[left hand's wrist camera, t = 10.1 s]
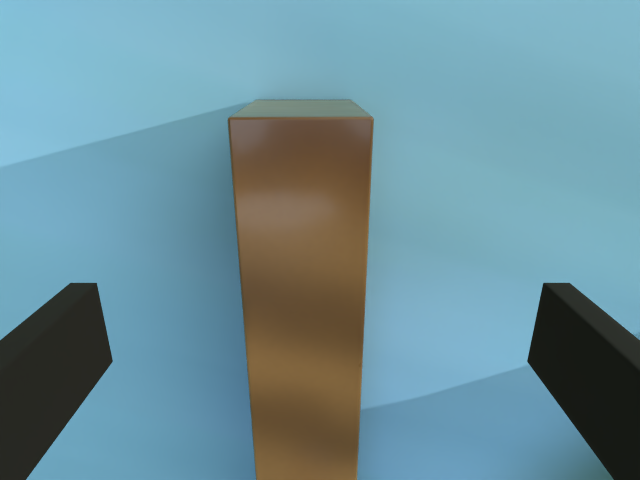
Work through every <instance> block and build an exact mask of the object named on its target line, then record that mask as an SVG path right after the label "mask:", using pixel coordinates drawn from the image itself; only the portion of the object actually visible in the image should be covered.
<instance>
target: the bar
mask: <svg viewBox="0 0 640 480" xmlns="http://www.w3.org/2000/svg"><path fill="white" fill-rule="evenodd" d="M373 123H374V119H373V117H372V116H371V115H369V114H368V113H367V112H366V111H364V110H363V109H362V108H361V107H359V106H358V105H357V104H356V103H355V102H353V101H352V100H255V101H253V102H252V103H250V104H249V105H247V106H246V107H244V108H242V109H241V110H239V111H238V112H236V113H235V114H233V115H232V116H230V117H229V118H228V130H229V143H230V155H231V168H232V181H233V193H234V206H235V218H236V231H237V244H238V256H239V269H240V282H241V294H242V307H243V319H244V332H245V345H246V357H247V370H248V383H249V395H250V408H251V420H252V433H253V446H254V458H255V471H256V480H357V469H358V447H359V426H360V404H361V383H362V361H363V339H364V318H365V296H366V275H367V253H368V231H369V210H370V188H371V166H372V145H373Z"/></svg>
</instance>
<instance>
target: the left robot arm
mask: <svg viewBox="0 0 640 480" xmlns="http://www.w3.org/2000/svg"><path fill="white" fill-rule="evenodd" d="M112 362H113V361H112V356H111V351H110V346H109V341H108V336H107V331H106V326H105V321H104V317H103V312H102V307H101V302H100V297H99V292H98V287H97V283H70V284H69V285H67V286H66V287H65V288H64V289H63V290H61V291H60V292H59V293H58V294H56V295H55V296H54V297H53V298H52V299H50V300H49V301H48V302H47V303H45V304H44V305H43V306H42V307H41V308H39V309H38V310H37V311H36V312H34V313H33V314H32V315H31V316H30V317H28V318H27V319H26V320H25V321H23V322H22V323H21V324H20V325H19V326H17V327H16V328H15V329H14V330H12V331H11V332H10V333H9V334H8V335H6V336H5V337H4V338H3V339H1V340H0V480H26V479H27V477H28V476H29V475H30V473H31V472H32V471H33V469H34V468H35V467H36V465H37V464H38V462H39V461H40V460H41V458H42V457H43V456H44V454H45V453H46V452H47V450H48V449H49V447H50V446H51V445H52V443H53V442H54V441H55V439H56V438H57V437H58V435H59V434H60V432H61V431H62V430H63V428H64V427H65V426H66V424H67V423H68V422H69V420H70V419H71V418H72V416H73V415H74V413H75V412H76V411H77V409H78V408H79V407H80V405H81V404H82V403H83V401H84V400H85V398H86V397H87V396H88V394H89V393H90V392H91V390H92V389H93V388H94V386H95V385H96V383H97V382H98V381H99V379H100V378H101V377H102V375H103V374H104V373H105V371H106V370H107V368H108V367H109V366H110V364H111V363H112ZM527 362H528V363H529V364H530V366H531V367H532V368H533V370H534V371H535V373H536V374H537V375H538V377H539V378H540V379H541V381H542V382H543V383H544V385H545V386H546V388H547V389H548V390H549V392H550V393H551V394H552V396H553V397H554V398H555V400H556V401H557V403H558V404H559V405H560V407H561V408H562V409H563V411H564V412H565V413H566V415H567V416H568V417H569V419H570V420H571V422H572V423H573V424H574V426H575V427H576V428H577V430H578V431H579V432H580V434H581V435H582V437H583V438H584V439H585V441H586V442H587V443H588V445H589V446H590V447H591V449H592V450H593V452H594V453H595V454H596V456H597V457H598V458H599V460H600V461H601V462H602V464H603V465H604V467H605V468H606V469H607V471H608V472H609V473H610V475H611V476H612V477H613V479H614V480H640V340H639V339H637V338H636V337H635V336H634V335H632V334H631V333H630V332H629V331H628V330H626V329H625V328H624V327H623V326H621V325H620V324H619V323H618V322H617V321H615V320H614V319H613V318H612V317H610V316H609V315H608V314H607V313H606V312H604V311H603V310H602V309H601V308H599V307H598V306H597V305H596V304H595V303H593V302H592V301H591V300H590V299H588V298H587V297H586V296H585V295H584V294H582V293H581V292H580V291H579V290H577V289H576V288H575V287H574V286H573V285H571V284H570V283H543V287H542V292H541V297H540V302H539V307H538V312H537V317H536V321H535V326H534V331H533V336H532V341H531V346H530V351H529V356H528V361H527Z"/></svg>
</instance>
